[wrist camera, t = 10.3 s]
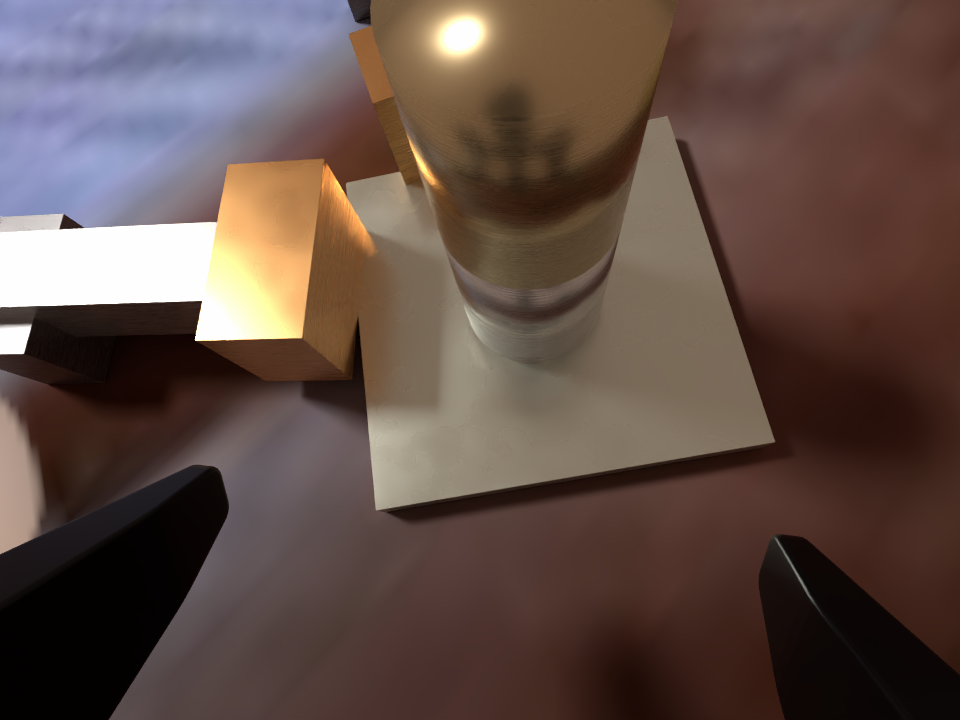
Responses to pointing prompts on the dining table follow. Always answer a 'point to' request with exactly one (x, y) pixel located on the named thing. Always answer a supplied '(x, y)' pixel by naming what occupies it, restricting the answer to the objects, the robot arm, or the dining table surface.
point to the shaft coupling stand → (404, 320)
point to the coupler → (526, 148)
